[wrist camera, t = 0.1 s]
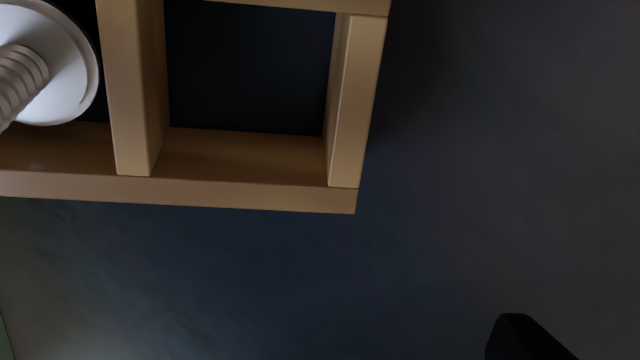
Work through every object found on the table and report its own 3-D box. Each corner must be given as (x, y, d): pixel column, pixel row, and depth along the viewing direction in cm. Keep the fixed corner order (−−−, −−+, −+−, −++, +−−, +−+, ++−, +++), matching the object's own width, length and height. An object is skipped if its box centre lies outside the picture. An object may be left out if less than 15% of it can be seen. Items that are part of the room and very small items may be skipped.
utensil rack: (345, 161, 24) (354, 214, 20) (-43, 137, 22) (-102, 192, 19) (376, -49, 19) (396, -23, 16) (-116, -99, 17) (-211, -83, 14)
